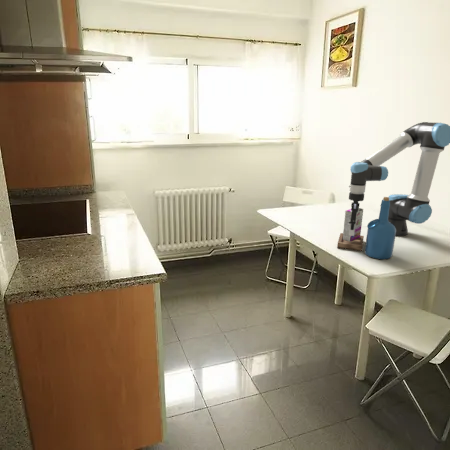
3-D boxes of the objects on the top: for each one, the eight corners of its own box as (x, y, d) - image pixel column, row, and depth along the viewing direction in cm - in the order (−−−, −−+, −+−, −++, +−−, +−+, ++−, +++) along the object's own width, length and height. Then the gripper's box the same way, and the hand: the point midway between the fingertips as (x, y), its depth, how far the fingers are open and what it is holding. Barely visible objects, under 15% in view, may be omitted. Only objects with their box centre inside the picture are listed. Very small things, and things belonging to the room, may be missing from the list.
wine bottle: (386, 251, 199) (395, 194, 190) (396, 260, 186) (406, 201, 177) (359, 250, 199) (367, 194, 191) (368, 259, 187) (376, 200, 178)
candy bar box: (351, 235, 212) (355, 206, 207) (360, 237, 209) (364, 208, 204) (341, 239, 205) (345, 210, 200) (350, 242, 201) (354, 212, 196)
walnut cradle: (363, 240, 214) (363, 235, 213) (362, 251, 197) (362, 246, 197) (339, 238, 218) (340, 233, 217) (337, 248, 202) (337, 242, 201)
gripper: (350, 187, 211) (346, 225, 217) (347, 196, 190) (343, 237, 196) (365, 189, 209) (360, 226, 215) (363, 197, 187) (358, 239, 193)
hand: (351, 232), depth 205 cm, fingers closed on candy bar box, 12 cm apart
